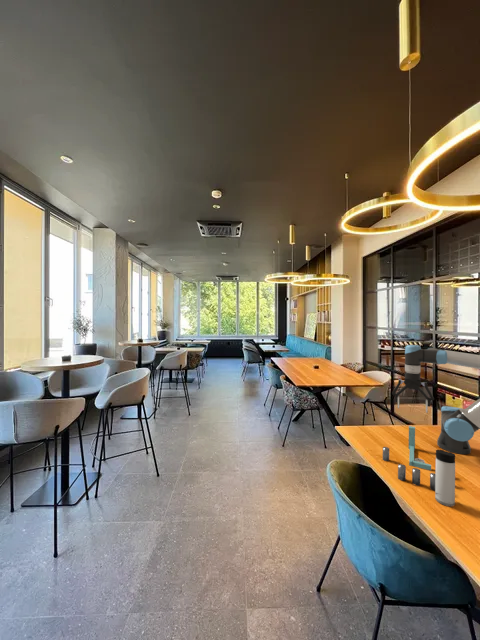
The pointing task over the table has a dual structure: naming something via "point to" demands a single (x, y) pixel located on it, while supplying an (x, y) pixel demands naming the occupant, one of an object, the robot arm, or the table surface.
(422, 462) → the hexagonal star block
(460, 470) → the table surface
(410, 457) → the teal bent bar
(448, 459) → the travel mug
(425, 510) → the table surface
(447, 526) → the table surface
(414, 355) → the robot arm
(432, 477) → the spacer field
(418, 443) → the table surface
